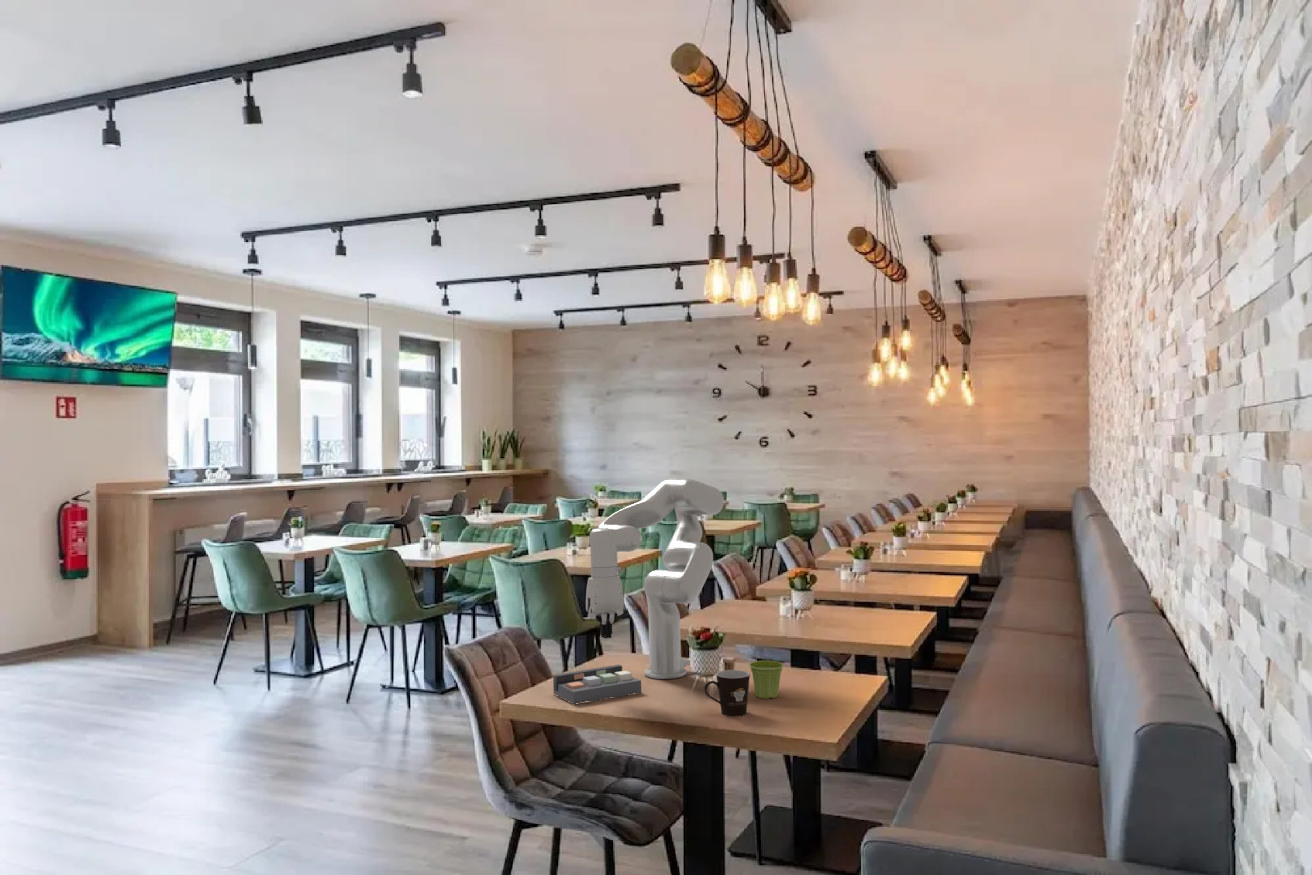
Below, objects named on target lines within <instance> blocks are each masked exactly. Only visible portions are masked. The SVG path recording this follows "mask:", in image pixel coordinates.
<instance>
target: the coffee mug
mask: <svg viewBox="0 0 1312 875" xmlns="http://www.w3.org/2000/svg"><path fill="white" fill-rule="evenodd" d="M750 676H751V674H750V672H748V671H745V670H742V669H741V670H739V669H727V670H722V671H718V672H716V681H714V680H710V681H708V682H706V683H705V686H704V693H705V695H706V696H707V697H708V698H710V699H711V700H712V701H713V702H714V701H715V702H716V703H718V704H719V705H720V710H721V714H722V715H723V716H727V717H742V716H745V715H746V714H747V709H748V700H749V689H750V688H749V687H750ZM711 684H714V685H716V687H717V689H718V696H719V697H718V698H719V700H718V699H717V698H714V696H711V695H710V694H709V693H708V691H707V689H708V686H709V685H711Z"/></svg>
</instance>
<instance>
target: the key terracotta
mask: <svg viewBox="0 0 1312 875" xmlns="http://www.w3.org/2000/svg"><path fill="white" fill-rule="evenodd" d="M567 687H568V688H570V689H576V688H582V687H584V684H583V683H581V682H573V683H567Z"/></svg>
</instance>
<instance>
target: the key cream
mask: <svg viewBox="0 0 1312 875" xmlns="http://www.w3.org/2000/svg"><path fill="white" fill-rule="evenodd" d="M614 673H615V675H616V680H619V681H624V680H630V679H632V677H633V675H632V674H633V673H632V672H630V671H628V670H622V671H620V672H614Z"/></svg>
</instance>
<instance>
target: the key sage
mask: <svg viewBox="0 0 1312 875" xmlns="http://www.w3.org/2000/svg"><path fill="white" fill-rule="evenodd" d="M599 678H600V682H601V683H604V684H606V683H612V682H616V675H613V674H611V673H608V674H602V675H599Z"/></svg>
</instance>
